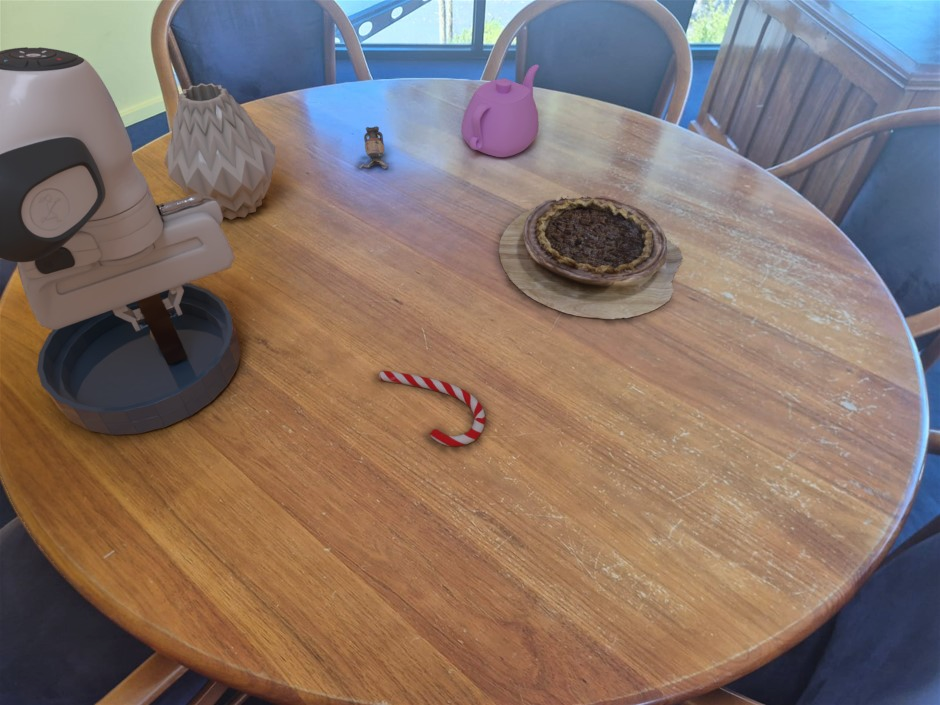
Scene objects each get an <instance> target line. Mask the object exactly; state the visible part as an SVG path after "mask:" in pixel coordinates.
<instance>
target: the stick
mask: <svg viewBox="0 0 940 705" xmlns="http://www.w3.org/2000/svg"><path fill="white" fill-rule="evenodd" d="M136 302H137V304H138V306H139V308H140V310H141V312H142V314H143V316H144V318H145V320H146V322H147V324H148V326H149V328H150V330H151V332H152V334H153V336H154V338H155V340H156V342H157V344H158V346H159V348H160V350H161V353H162V355H163V357H164V359H165V361H166V363H167V365H170V364H173V363H175V362H178V361H180V360H183V359H185V358H187V354H186V352H185V350H184V348H183V345H182V343H181V341H180V339H179V337H178V334H177V332H176V330H175V328H174V325H173V323H172V321H171V319H170V317H169V314H168V312H167V310H166V308H165V305H164V303H163V301H162V299H161V297H160V294H159V293H158V294H155V295H153V296H150V297H147V298H144V299H141V300H139V301H136Z"/></svg>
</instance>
